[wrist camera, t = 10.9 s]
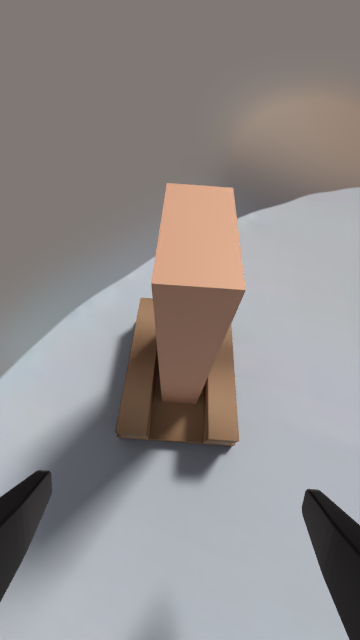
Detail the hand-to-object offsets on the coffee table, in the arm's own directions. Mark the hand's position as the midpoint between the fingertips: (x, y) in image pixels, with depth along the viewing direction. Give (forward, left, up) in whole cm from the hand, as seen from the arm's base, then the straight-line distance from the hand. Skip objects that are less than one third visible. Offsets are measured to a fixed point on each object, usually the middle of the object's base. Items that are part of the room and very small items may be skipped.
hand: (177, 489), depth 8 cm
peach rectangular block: (+7, +2, -8) cm, 11 cm away
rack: (+7, +2, -8) cm, 11 cm away
